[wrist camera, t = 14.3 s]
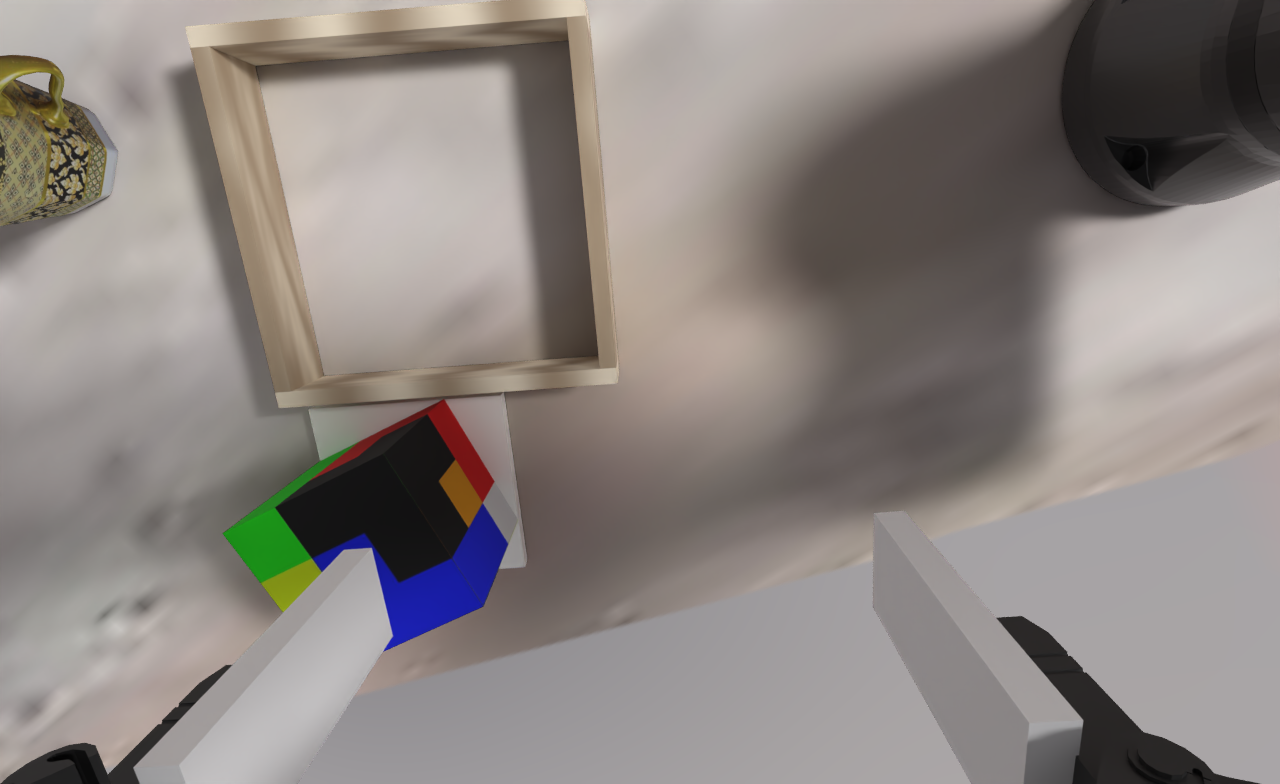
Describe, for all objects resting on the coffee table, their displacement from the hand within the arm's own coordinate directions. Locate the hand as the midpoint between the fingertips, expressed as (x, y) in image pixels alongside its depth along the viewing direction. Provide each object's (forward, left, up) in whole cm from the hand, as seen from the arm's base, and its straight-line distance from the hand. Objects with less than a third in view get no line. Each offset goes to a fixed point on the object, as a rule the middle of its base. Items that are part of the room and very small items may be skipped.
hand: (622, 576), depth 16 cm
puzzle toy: (+15, +8, -25) cm, 30 cm away
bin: (+11, -10, -26) cm, 30 cm away
